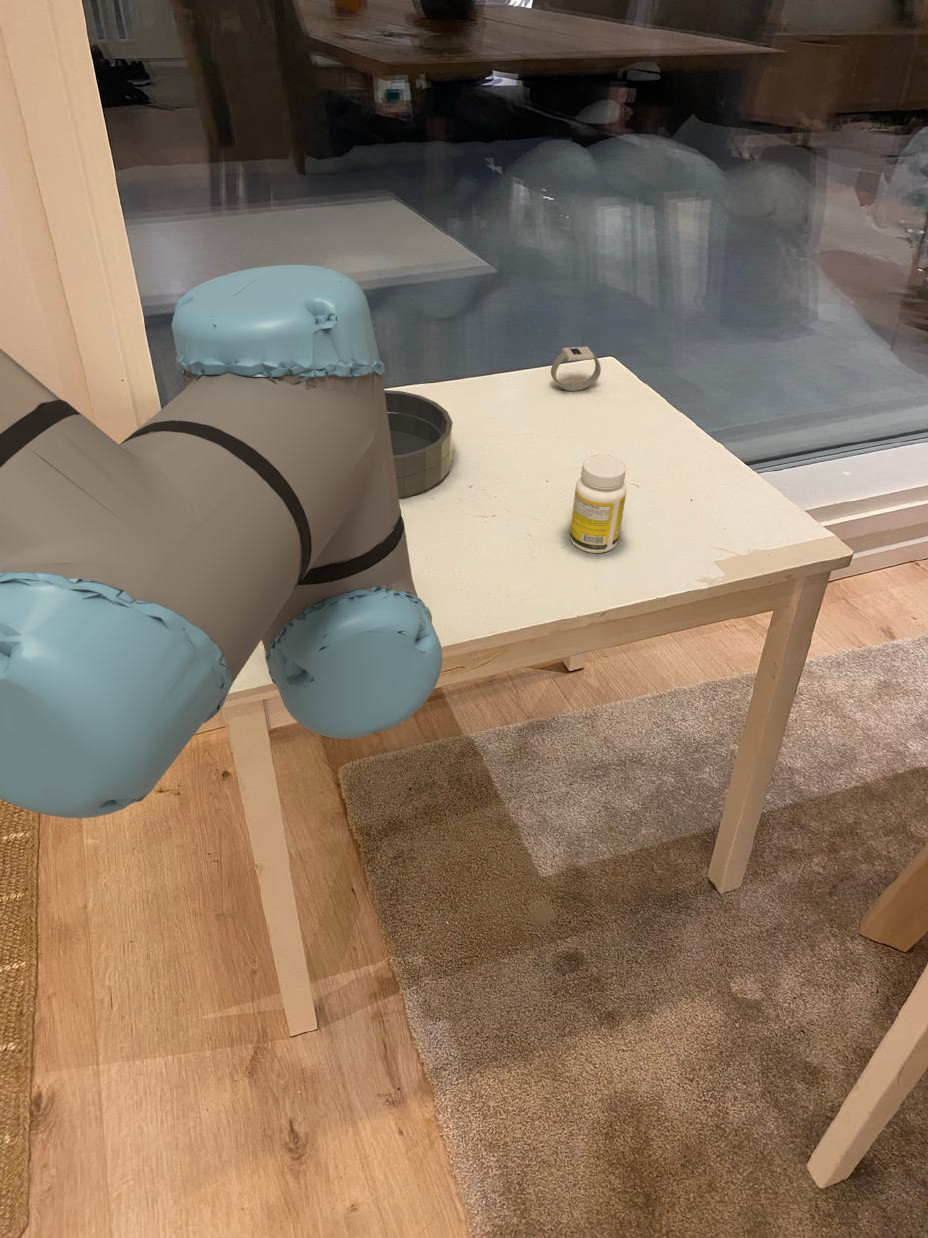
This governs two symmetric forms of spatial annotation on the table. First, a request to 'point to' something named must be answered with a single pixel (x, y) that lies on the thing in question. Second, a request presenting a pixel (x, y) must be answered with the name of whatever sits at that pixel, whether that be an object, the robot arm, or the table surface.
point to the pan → (418, 441)
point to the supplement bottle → (598, 504)
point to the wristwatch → (572, 355)
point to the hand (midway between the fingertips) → (234, 371)
